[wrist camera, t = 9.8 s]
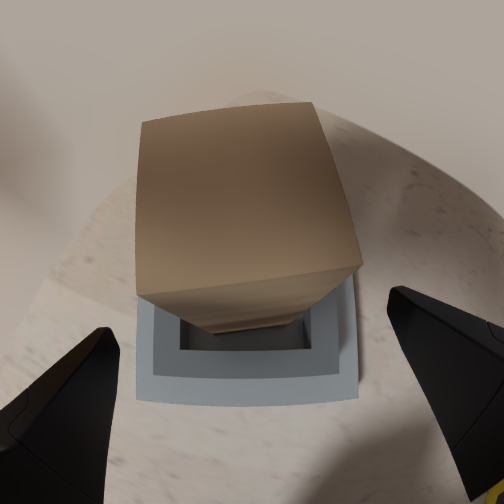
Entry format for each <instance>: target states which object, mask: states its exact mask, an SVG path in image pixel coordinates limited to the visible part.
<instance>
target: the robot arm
mask: <svg viewBox="0 0 504 504" xmlns="http://www.w3.org/2000/svg"><path fill="white" fill-rule="evenodd" d="M387 314H388V317H389V319H390V322H391V324H392V327H393V329H394V331H395V334H396V336H397V339H398V341H399V344H400V346H401V348H402V351H403V353H404V355H405V357H406V359H407V360H408V362H409V364H410V366H411V368H412V370H413V372H414V374H415V376H416V378H417V380H418V382H419V384H420V386H421V388H422V390H423V392H424V394H425V396H426V398H427V400H428V402H429V404H430V406H431V409H432V411H433V413H434V415H435V417H436V419H437V421H438V424H439V426H440V428H441V430H442V433H443V435H444V437H445V439H446V442H447V444H448V446H449V449H450V451H451V454H452V456H453V459H454V461H455V464H456V466H457V469H458V471H459V474H460V477H461V479H462V482H463V484H464V487H465V490H466V493H467V495H468V498H469V500H470V502H472V501H474V500H475V499H477V498H478V497H480V496H481V495H483V494H484V493H486V492H487V491H489V490H490V489H491V488H493V487H494V486H495V485H497V484H498V483H499V482H501V481H502V480H503V479H504V328H502V327H500V326H497V325H495V324H493V323H491V322H486V320H484V319H481V318H479V317H477V316H474V315H472V314H470V313H467V312H465V311H463V310H460V309H458V308H456V307H453V306H451V305H448V304H446V303H444V302H441V301H439V300H436V299H434V298H432V297H429V296H427V295H424V294H422V293H420V292H417V291H415V290H412V289H410V288H407V287H405V286H397V287H393V288H391V290H390V293H389V299H388V304H387ZM119 359H120V348H119V345H118V343H117V341H116V338H115V336H114V334H113V332H112V330H111V329H110V328H109V327H99V328H97V329H96V330H94V331H93V332H92V333H91V334H90V335H88V336H87V337H86V338H85V339H84V340H82V341H81V342H80V343H79V344H78V345H76V346H75V347H74V348H73V349H72V350H70V351H69V352H68V353H67V354H66V355H64V356H63V357H62V358H61V359H60V360H59V361H57V362H56V363H55V364H54V365H53V366H52V367H50V368H49V369H48V370H47V371H46V372H45V373H43V374H42V375H41V376H40V377H39V378H38V379H37V380H35V381H34V382H33V383H32V384H31V385H30V386H29V387H28V388H26V389H25V390H24V391H23V392H22V393H21V394H20V395H18V396H17V397H16V398H15V399H14V400H13V401H11V402H10V403H9V404H8V405H6V406H5V407H4V408H3V409H1V410H0V504H103V503H104V488H105V476H106V466H107V456H108V448H109V440H110V433H111V426H112V419H113V413H114V407H115V401H116V394H117V385H118V371H119ZM495 504H504V491H503V492H502V493H500V494H499V495H498V497H497V500H496V503H495Z"/></svg>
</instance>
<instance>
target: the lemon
mask: <svg viewBox="0 0 504 504" xmlns="http://www.w3.org/2000/svg"><path fill="white" fill-rule="evenodd" d="M503 491H504V479H503V480H502V481H501V482H499V483H498V484H497V485H495V486H494V487H493V488H491V489H490V490H489V493H488V495H487V497H486V501H485V504H495V503H496V500H497V497H498V495H499V494H500V493H502V492H503Z"/></svg>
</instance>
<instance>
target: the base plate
mask: <svg viewBox="0 0 504 504" xmlns="http://www.w3.org/2000/svg"><path fill="white" fill-rule="evenodd" d="M356 398H358V349H357V328H356V312H355V299H354V287H353V277H352V274H351V275H350V276H349V277H348V278H347V279H345V280H344V281H343V282H342V283H340V284H339V285H338V286H337V287H336V288H334V289H333V290H332V291H331V292H329V293H328V294H327V295H326V296H324V297H323V298H322V299H320V300H319V301H318V302H317V303H315V304H314V305H313V306H312V307H310V308H309V309H308V310H306V311H305V312H304V313H302V314H301V315H300V316H298V317H297V318H296V319H294V320H293V321H292V322H290V323H289V324H288V325H283V326H276V327H270V328H263V329H256V330H249V331H241V332H233V333H225V334H217V335H214V334H212V333H210V332H207V331H205V330H203V329H201V328H199V327H197V326H195V325H193V324H191V323H189V322H187V321H185V320H183V319H181V318H179V317H177V316H175V315H173V314H171V313H169V312H167V311H165V310H163V309H161V308H159V307H158V306H156V305H154V304H152V303H150V302H148V301H146V300H144V299H143V298H141V297H139V296H138V311H137V334H136V400H143V401H151V402H161V403H171V404H184V405H201V406H238V407H246V406H283V405H299V404H312V403H323V402H333V401H341V400H349V399H356Z"/></svg>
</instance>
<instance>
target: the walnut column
mask: <svg viewBox="0 0 504 504" xmlns="http://www.w3.org/2000/svg"><path fill="white" fill-rule="evenodd" d="M135 261H136V292H137V296H139V297H141V298H143V299H144V300H146V301H148V302H150V303H152V304H154V305H156V306H158V307H159V308H161V309H163V310H165V311H167V312H169V313H171V314H173V315H175V316H177V317H179V318H181V319H183V320H185V321H187V322H189V323H191V324H193V325H195V326H197V327H199V328H201V329H203V330H205V331H207V332H210V333H212V334H214V335H217V334H225V333H233V332H241V331H249V330H256V329H263V328H270V327H276V326H283V325H288V324H289V323H290V322H292V321H293V320H294V319H296V318H297V317H298V316H300V315H301V314H302V313H304V312H305V311H306V310H308V309H309V308H310V307H312V306H313V305H314V304H315V303H317V302H318V301H319V300H320V299H322V298H323V297H324V296H326V295H327V294H328V293H329V292H331V291H332V290H333V289H334V288H336V287H337V286H338V285H339V284H340V283H342V282H343V281H344V280H345V279H347V278H348V277H349V276H350V275H351V274H353V273H354V272H355V271H356V270H357V269H359V268H360V267H361V266H362V265H363V261H362V257H361V253H360V249H359V245H358V241H357V237H356V233H355V230H354V226H353V222H352V219H351V215H350V212H349V208H348V205H347V202H346V198H345V195H344V192H343V188H342V185H341V182H340V179H339V176H338V173H337V170H336V167H335V164H334V161H333V158H332V155H331V152H330V149H329V146H328V143H327V140H326V138H325V135H324V132H323V130H322V127H321V124H320V122H319V119H318V116H317V114H316V111H315V109H314V106H313V104H312V102H303V103H280V104H264V105H252V106H241V107H232V108H223V109H216V110H208V111H201V112H195V113H188V114H183V115H177V116H171V117H166V118H161V119H155V120H151V121H146V122H142V128H141V137H140V148H139V160H138V174H137V192H136V223H135Z"/></svg>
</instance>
